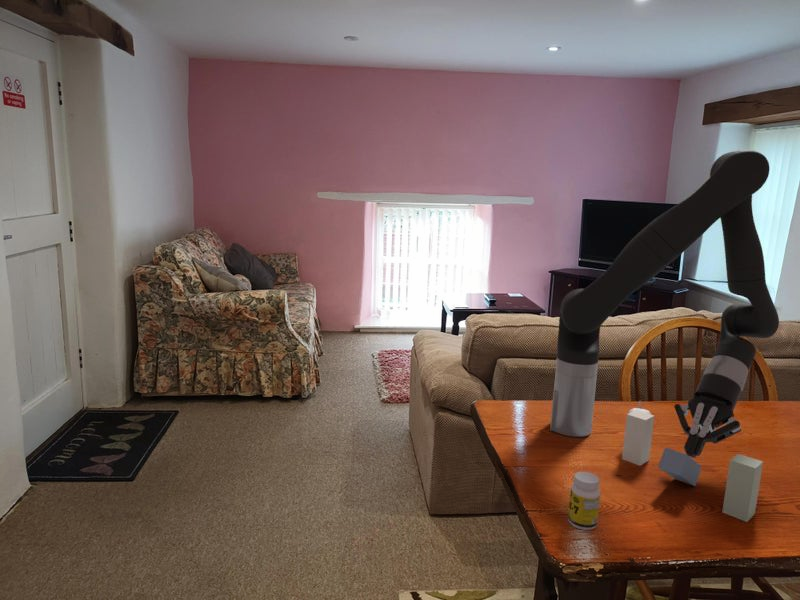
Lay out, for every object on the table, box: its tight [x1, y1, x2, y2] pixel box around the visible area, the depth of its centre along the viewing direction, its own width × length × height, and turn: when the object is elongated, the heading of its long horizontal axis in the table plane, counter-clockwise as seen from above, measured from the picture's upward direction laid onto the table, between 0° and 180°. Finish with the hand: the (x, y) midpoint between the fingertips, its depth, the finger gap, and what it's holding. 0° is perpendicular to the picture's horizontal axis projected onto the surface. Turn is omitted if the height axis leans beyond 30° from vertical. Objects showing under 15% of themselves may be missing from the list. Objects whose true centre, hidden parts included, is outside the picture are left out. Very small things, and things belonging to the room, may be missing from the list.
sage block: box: [721, 453, 764, 523], centre depth 104 cm, size 4×4×10 cm
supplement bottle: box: [567, 471, 601, 531], centre depth 99 cm, size 5×5×8 cm
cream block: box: [621, 410, 655, 467], centre depth 124 cm, size 4×4×10 cm
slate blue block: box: [657, 447, 702, 487], centre depth 112 cm, size 4×4×10 cm
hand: (690, 455), depth 115 cm, fingers closed
